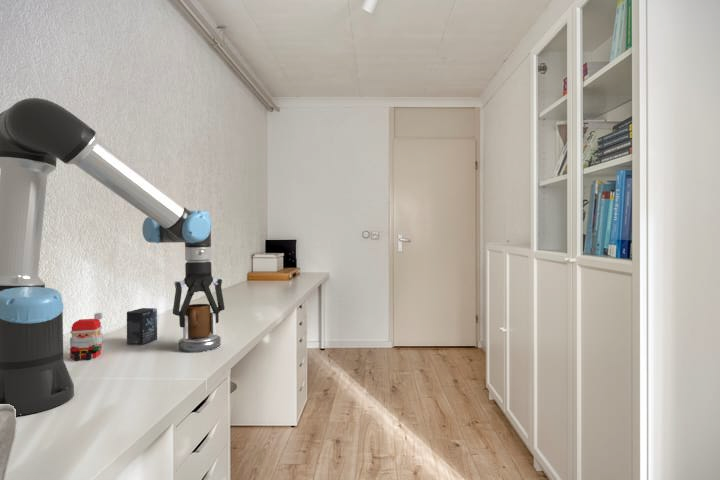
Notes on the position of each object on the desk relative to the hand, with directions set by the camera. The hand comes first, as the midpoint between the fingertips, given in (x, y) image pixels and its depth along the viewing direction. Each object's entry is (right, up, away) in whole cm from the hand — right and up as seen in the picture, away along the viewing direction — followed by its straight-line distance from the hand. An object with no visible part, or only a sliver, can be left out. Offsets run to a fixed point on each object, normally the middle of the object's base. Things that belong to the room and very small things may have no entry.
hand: (199, 335), depth 135 cm
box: (-21, -4, +8) cm, 23 cm away
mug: (-1, -1, -1) cm, 1 cm away
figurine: (-29, -4, -9) cm, 31 cm away
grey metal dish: (0, -4, 0) cm, 4 cm away
